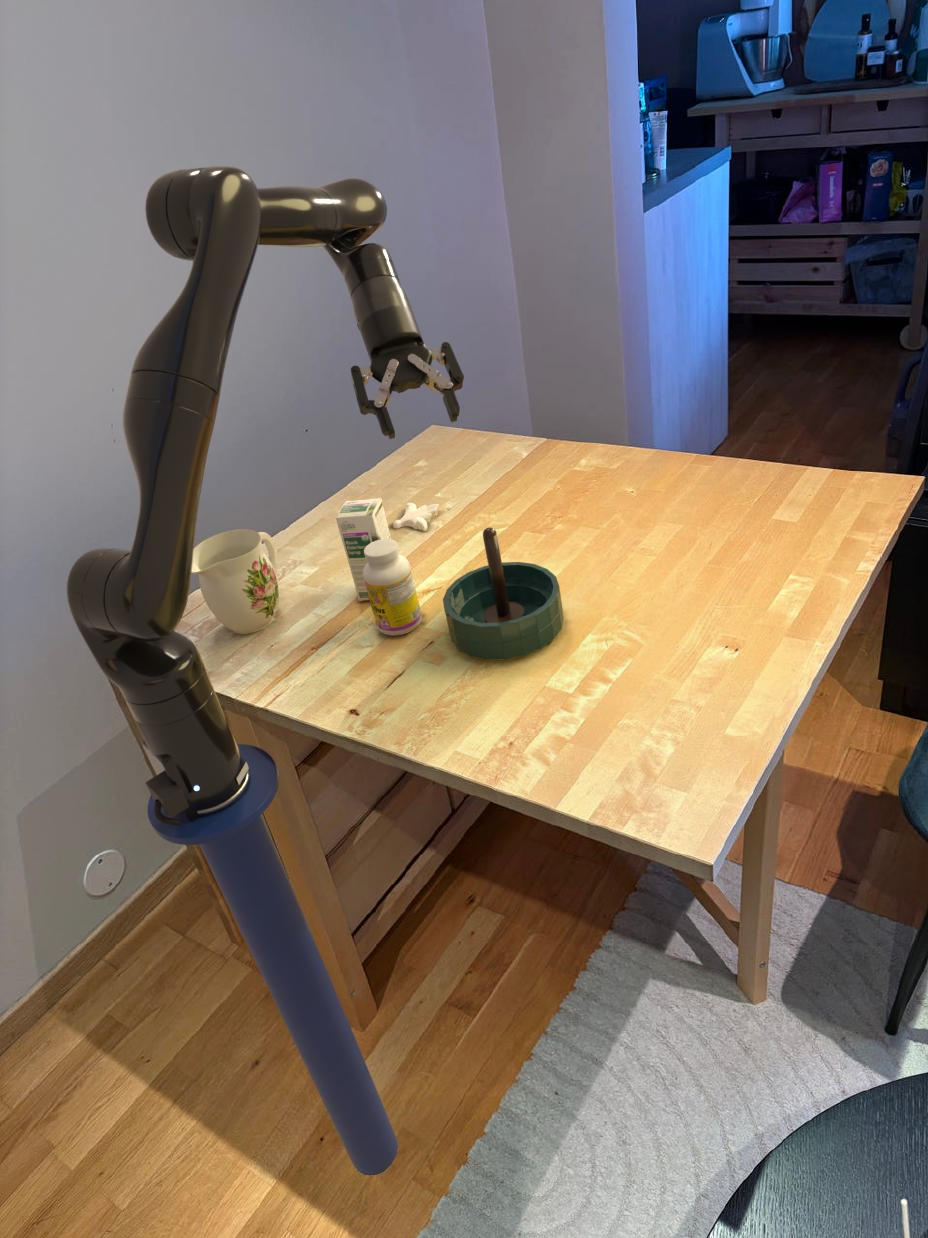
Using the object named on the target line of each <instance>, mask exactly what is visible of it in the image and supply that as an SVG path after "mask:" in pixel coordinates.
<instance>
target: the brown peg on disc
mask: <svg viewBox="0 0 928 1238" xmlns="http://www.w3.org/2000/svg"><path fill="white" fill-rule="evenodd" d="M482 539H483V544H484V549H485V555H486V556H485V557H486V561H487V565H488V566H489V572H490V577H491V583H492V588H493V593H494V599H495V605H493V606H491V607H489V608H488V609H487V610H486V611H485V613H484V621H485V623H500V622H505V621H510V620H515V619H518V618H521V617H523V616H525V611H524V608H523V607H522V606H521V605H520V604H518V603H515V602H509V601H508V595H507V590H506V584H505V578H504V573H503V567H502V563H503V562H502V556H501V550H500V546H499V545H500V544H499V539H498V532H497V531H496V529H495V528H493V527H490V526H489V527H485V528H484V530H483V532H482Z"/></svg>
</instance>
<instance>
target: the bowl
mask: <svg viewBox="0 0 928 1238" xmlns="http://www.w3.org/2000/svg"><path fill="white" fill-rule="evenodd" d="M502 567H503V573H504V578H505V584H506V590H507V595H508V601H509V602H515V603H518V604H520V605H521V606H522V607H523V608H524V611H525V616H523V617H521V618H518V619H515V620H510V621H505V622H500V623H485V621H484V613H485V611H486V610H487V609H488V608H489V607H491V606H493V605H495V599H494V593H493V588H492V583H491V577H490V572H489V566H488V564H487V565H483V566H481V567H478V568H476V569H473V570H469V571H468V572H466V573H464V574H463V575H462V576H459V578H457V579H455V580H454V582H452V583H451V584H450V585H449V586H448V587H447V588H446V590H445V593H444V596H443V598H442V603H443V604H442V605H443V608H444V609H443V610H444V615H445V618H446V623H447V628H448V633H449V637H450V641H451V643H452V644H453V646H455V648H456V649H457V650H458V651H459V652H461V653H463V654H465V655H467V656H468V657H472V658H475V659H481V660H486V661H503V660H505V661H506V660H511V659H517V658H520V657H525V656H528V655H530V654H532V653H535V652H537V651H539V650H542V649H543V648H545V647H546V646H547V645H549V644H550V643H552V642H553V641H554V640H555V639H556V637H557V636H558V635H559V634H560V632H561V631H562V629H563V625H564V619H565V618H564V617H565V616H564V609H563V602H562V595H561V588H560V583H559V580H558V578H557V576H556V575H555V574H554V573H552V572H551V571H550V570H549V569H548V568H546V567H543V566H540V565H538V564H535V563H530V562H523V561H507V562H504V561H503V562H502Z"/></svg>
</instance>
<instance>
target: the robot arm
mask: <svg viewBox="0 0 928 1238" xmlns="http://www.w3.org/2000/svg"><path fill="white" fill-rule="evenodd" d="M144 207H145V208H144V211H145V219H146V224H147V227H148V230H149V232H150V234H151V236H152V238H153V240H154V241H155V243H156V244H157V245H158V246H159V248H161V249H162V250H163V251H164V252H165V253H167V254H168V255H170V256H171V257H173V258H176V259H179V260H182V261H189V262H192V265H191V268H190V270H189V271H190V272H189V275H188V277H187V280H186V282H185V284H184V286H183V288H182V290H181V292H180V294H179V295H178V296H177V298H176V299H175V301H174V303H173V304H172V305H171V307H170V308H169V309H168V310H167V312H166V313H165V314H164V315H163V316H162V318H161V319H160V320H159V321H158V323H157V324H156V326H155V327H154V328H153V329H152V330H151V332H150V333H149V335H148V336H147V338H146V339H145V341H144V342H143V344H142V345H141V347H140V348H139V349H138V352H137V354H136V356H135V359H134V361H133V364H132V367H131V372H130V377H129V381H128V385H127V391H126V394H125V395H126V396H125V400H124V405H123V411H122V429H123V435H124V441H125V444H126V447H127V451H128V455H129V458H130V461H131V464H132V467H133V471H134V473H135V477H136V481H137V486H138V493H139V507H138V516H137V523H136V528H135V534H134V537H133V542H132V545H131V549H129V548H119V547H118V548H117V547H96V548H93V549H90V550H88V551H85V552H84V553H82V554H80V556H79V557H78V558H77V559H76V560H75V562H74V563H73V565H72V566H71V567H70V570H69V571H68V572H69V573H68V575H67V578H66V579H67V580H66V587H65V588H66V591H65V592H66V599H67V600H66V601H67V605H68V609H69V612H70V614H71V617H72V619H73V621H74V623H75V625H76V628H77V629H78V631H79V633H80V635H81V637H82V639H83V641H84V642H85V644H86V646H87V648H88V649H89V651H90V653H91V655H92V656H93V658H94V661H95V662H96V664H97V665H98V667H99V669H100V671H101V672H102V673H103V674H104V676H105V677H106V678H107V679H108V680H109V681H110V682H111V683H113V684H114V685H115V686H116V687H117V688H118V690H119V691H120V693H121V695H122V697H123V699H124V701H125V703H126V705H127V707H128V709H129V711H130V714H131V715H132V717H133V719H134V721H135V724H136V726H137V727H138V730H139V732H140V734H141V736H142V738H143V739H142V740H141V746H142V749H143V750H144V752H145V754H146V756H147V758H148V760H149V762H150V764H151V767H152V768H153V771H154V772H155V776H153V777H152V778H150V779H148V780H147V781H145V785H146V787H147V789H148V791H149V793H150V796H151V795H152V797H153V799H154V801H155V816H156V818H157V819H158V820H159V821H160V822H162V823H165V824H172V825H178V826H179V825H180V823H181V820H179V819H174V818H173V817H174V816H176V815H177V814H179V813H180V812H181V813H182V814H183V815H184V816H185V817H186V818H187V819H188V820H189V821H190V822H192V821H194V820H196V819H197V818H199V817H204V816H209V815H213V814H216V813H218V812H221V811H223V810H225V809H227V808H229V807H230V806H232V805H233V804H234V803H236V802H237V801H238V800H239V799H240V798H241V797H242V796H243V795H244V793H245V792H246V790H247V789H248V786H249V784H250V773H249V771H248V769H249V767H248V765H247V762H246V763H245V762H244V760H243V758H242V756H241V754H240V751H239V749H238V746H237V744H238V743H237V742H236V739H235V736H234V734H233V732H232V729H231V727H230V724H229V722H228V720H227V718H226V715H225V712H224V710H223V708H222V705H221V703H220V700H219V698H218V695H217V693H216V690H215V688H214V685H213V683H212V681H211V678H210V676H209V673H208V671H207V668H206V666H205V663H204V661H203V659H202V656H201V653H200V652H199V650H198V648H197V646H196V645H195V644H194V643H193V641H192V640H191V639H189V638H187V637H186V636H184V635H183V634H181V633H179V632H177V631H176V628H177V627H178V626H179V624H180V622H181V620H182V619H183V616H184V613H185V611H186V607H187V604H188V599H189V594H190V589H191V581H192V573H191V572H192V561H193V550H194V548H195V541H196V540H195V538H196V528H197V521H198V520H197V519H198V511H199V505H200V499H201V494H202V493H201V492H202V486H203V481H204V475H205V470H206V463H207V458H208V455H209V454H208V453H209V450H210V449H209V448H210V444H211V441H212V436H213V432H214V427H215V423H216V418H217V413H218V409H219V403H220V397H221V391H222V385H223V379H224V373H225V369H226V363H227V359H228V355H229V351H230V350H229V349H230V346H231V341H232V336H233V332H234V329H235V323H236V321H237V316H238V312H239V309H240V305H241V302H242V300H243V296H244V292H245V289H246V286H247V283H248V279H249V276H250V273H251V270H252V266H253V264H254V261H255V257H256V254H257V250H258V246H265V247H266V246H268V247H288V248H289V247H291V248H310V247H312V248H314V247H316V248H317V247H322V248H323V250H325V251H326V253H327V254H328V255H329V257H330V258H331V260H332V261H333V263H334V265H335V266H336V268H337V269H338V271H339V272H340V274H341V275H342V277H343V280H344V283H345V285H346V288H347V291H348V294H349V298H350V300H351V304H352V308H353V314H354V317H355V321H356V326H357V328H358V330H359V332H360V335H361V337H362V341H363V343H364V346H365V349H366V352H367V355H368V358H369V360H370V365H369V366H365V367H360V366H359V365H352V366H351V367H350V377H351V378H350V379H351V383H352V386H353V390H354V395H355V397H356V402H357V405H358V409H359V412H360V414H361V415H363V416H366V415H368V414H373V415H374V416H375V417H376V419H377V422H378V425H379V428H380V430H381V434H382V435H383V436H384V437H388V439H389V440H392V439H396V432H395V428H394V425H393V421H392V419H391V415H390V413H389V410H388V408H387V406H388V403H389V402H390V400H391V396H392V394H393V392H395V393H397V394H401V393H404V392H406V391H408V390H416V389H419V388H421V386H422V385H423V386H425V387H426V388H428V389H429V390H431V391H435V392H436V393H438V394H439V395H441V396H442V401H443V404H444V406H445V410H446V413H447V415H448V417H449V421H450V423H454V422H457V420H458V417H459V416H460V412H461V406H460V404H459V401H458V398H457V396H456V391H458V390H462V389H463V385H464V379H465V376H464V375H465V374H464V373H463V371H462V369H461V366H460V364H459V362H458V360H457V357H456V354H455V352H454V350H453V348H452V346H451V343H450V342H449V341H448V342H447V341H443V342H442V343H441V346H439V347H437V348H433V349H430V348H428V347H427V346H426V344H425V342H424V340H423V337H422V334H421V331H420V328H419V325H418V322H417V320H416V316H415V314H414V312H413V309H412V306H411V303H410V300H409V298H408V295H407V293H406V291H405V289H404V287H403V286H402V283H401V281H400V278H399V275H398V272H397V270H396V267H395V264H394V262H393V259H392V257H391V255H390V252H389V250H387V248H386V247H385V246H383V245H382V244H380V243H376V242H370V243H365V242H366V241H368V239H369V238H371V237H372V236H373V235H374V234H376V233H377V232H378V231H379V230H380V229H381V228H382V227H383V225H384V224H385V222H386V219H387V216H388V206H387V201H386V199H385V197H384V195H383V194H382V192H381V190H379V188H378V187H376V185H374V184H373V183H371V182H369V181H367V180H365V179H363V178H358V177H357V178H356V177H350V178H345V179H341V180H337V181H334V182H330V183H327V184H325V185H323V186H320V187H312V186H311V187H310V186H293V185H292V186H273V187H272V186H271V187H260V188H259V187H257V185H256V183H255V181H254V180H253V178H252V177H251V175H249V174H248V173H247V172H246V171H245V170H243V169H241V168H238V167H235V166H227V165H225V166H224V165H214V166H208V167H207V166H206V167H196V168H184V169H177V170H172V171H171V172H167V173H164V174H162V175H160V177H158V178H157V179H156V180H154V181H153V182H152V184H151V185H150V187H149V190H148V191H147V193H146V198H145V205H144ZM433 360H434V361H437V362H438V364H439V365H440V366H443V365H444V367H445V370H446V372H447V375H448V376H449V379H448V378H447V377H445V376H444V375H442V374H441V373H440V371H439V370H438V369H436V368H435V367H433V366H432V363H433ZM370 377H372V378H373V379H374V380H376V381H377V382H378V383H380V385H379V388H378V392H377V394H376V397H375V399H369V398H368V394H367V389H366V385H368V383H369V379H370ZM161 808H162V809H163V810H164V811H165V812H166V813H167V814H168V815H169V816H170V817H171V818H167V817H164V816H163V815H162V813H161Z"/></svg>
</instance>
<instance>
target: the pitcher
mask: <svg viewBox="0 0 928 1238" xmlns="http://www.w3.org/2000/svg"><path fill="white" fill-rule="evenodd" d="M262 542H263V543H264V545H265V547H266V550H267V553H268V556H267V555H266V553H264V550H263V543H262ZM278 569H279V554H278V550H277V547H276V544H275V541H274V540H273V538H272V537H271V535H269V534H268V533H267V532H264V531H258V532H257V531H256V530H253V529H247V528H240V529H239V528H238V529H232V530H227V531H223V532H219V533H217V534H214V535H211V536H210V537H208V538H206V539H204V540H202V541H201V542H200V543H198V544H197V545H195V546H194V550H193V561H192V572H191V575H198V583H199V589H200V591H201V595H202V597H203V600H204V601H205V604H206V605H207V607H208V609H209V610H210V612H211V613H212V615H213V616H214V617H215V618H216V619H217V621H218V622H220V623H221V624H222V625H223V626H224V627H226V628H227V629H229V630H230V631H233V632H234V633H236V634H241V635H247V634H253V633H256V632H259V631H261V630H263V629H265V628H266V627H268V626H269V625H270V624H271V623H272V622H273V620H274V618H275V616H276V613H277V611H278V608H279V607H278V606H279V598H280V597H279V595H280V594H279V584H278V578H277V574H278Z"/></svg>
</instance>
